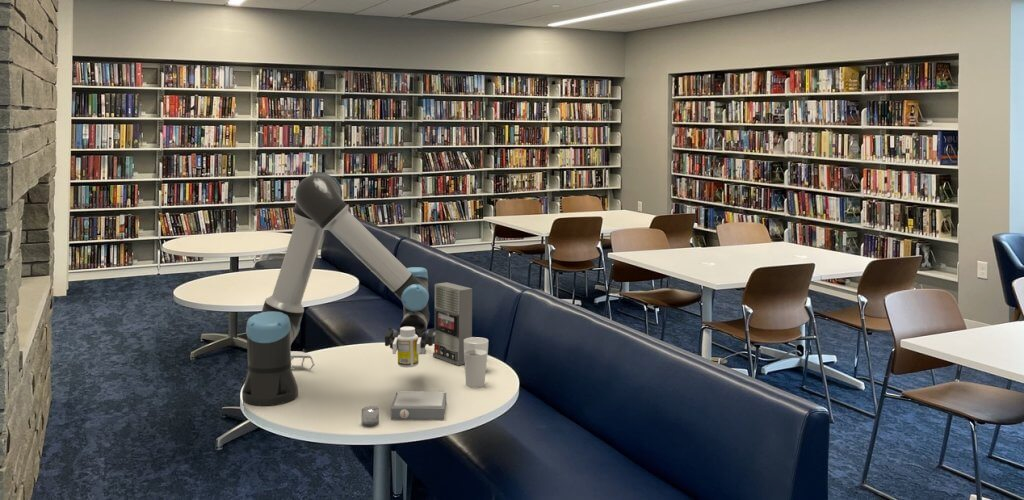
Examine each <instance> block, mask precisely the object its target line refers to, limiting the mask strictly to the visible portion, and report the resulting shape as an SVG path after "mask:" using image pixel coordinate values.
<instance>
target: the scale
mask: <svg viewBox="0 0 1024 500" xmlns="http://www.w3.org/2000/svg"><path fill="white" fill-rule="evenodd" d="M446 408H447V392H444V391H442V390H441V391H435V390H434V391H433V390H431V391H430V390H429V391H423V390H422V391H419V390H418V391H417V390H416V391H414V390H411V391H410V390H401V391H400V390H399V391H398V392H395V396H394V399H393V401H392V404H391V408H390V420H395V421H396V420H398V421H399V420H400V421H401V420H402V421H403V420H409V421H410V420H414V421H415V420H418V421H419V420H421V421H422V420H423V421H424V420H430V421H432V420H435V421H437V420H439V421H440V420H441V421H442V420H445V418H446Z"/></svg>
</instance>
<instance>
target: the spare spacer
mask: <svg viewBox="0 0 1024 500" xmlns="http://www.w3.org/2000/svg"><path fill="white" fill-rule="evenodd" d="M361 425H362V426H363V427H366V428H373V427H377V426H378V425H380V408H379V407H378V406H374V405H372V406H370V405H368V406H365V407H362V408H361Z"/></svg>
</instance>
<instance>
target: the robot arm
mask: <svg viewBox="0 0 1024 500" xmlns="http://www.w3.org/2000/svg"><path fill="white" fill-rule="evenodd" d="M295 201H296V202H295V204H294V208H293V211H292V213H293V215H294V217H295V222H294V226H293V228H292V232H291V234H290V237H289V238H290V239H289V241H288V244H287V247H286V248H287V249H286V252H285V255H284V258H283V261H282V264H281V266H280V270H279V273H278V277H277V280H276V281H275V282H276V283H275V285H274V289H273V291H272V292H273V293H272V295H270V296H269V297H266V298H265V300H264V302H263V306H262V309H261V312H258V313H255V314H253V315H252V316H250V317H249V318H248V319H247V321H246V328H245V334H246V348H247V349H246V351H247V374H246V378H245V381H244V384H243V388H242V389H241V390H242V391H241V392H242V394H241V397H242V401H243V402H244V403H246V404H249V405H253V406H274V405H275V406H276V405H280V404H286V403H288V402H292V401H293V400H295V399H297V398H298V395H299V388H298V387H299V386H298V384H297V382H296V378H295V375H294V374H293V369H292V368H291V366H292V365H291V364H292V361H291V351H292V350H291V349H292V347H291V346H292V343H293V342H294V341H295V339H296V337H298V334H299V332H300V329H301V323H302V318H303V315H304V312H305V308H304V306H303V305H302V301H303V298H304V295H305V292H306V289H307V286H308V283H309V280H310V276H311V273H312V270H313V267H314V264H315V260H316V257H317V255H318V252H319V247H320V245H321V242H322V239H323V236H324V232H325V231H329V232H330V233H331V234H332V235H333V236H334V237H335V238H336V239H338V241H340V242H341V243H342V244H343V246H345V248H347V249H348V250H349V251H350V252H351V253H352V254H353V255H354V256H355V257H356V258H357V259H358V260H359V261H360V262H361V263H362V264H364V266H366V268H367V269H369V271H370V272H371V273H373V274H374V275H375V276H376V277H377V278H378V279H379V280H380V281H381V282H382V283H383V284H384V285H385V286H387V288H388V289H389V290H390V291H391V292H392V293H393V294H394V295H395V296H396V297H397V298H398V299H399V300H400V301H401V303H402V306H403V318H402V320H401V322H400V325H399V327H398V328H397V329H396V330H395V328H391V327H389V328H387V333H386V334H385V335H384V346H385V347H389V348H390V349H391V350H392V355H396V354H397V353H398V346H397V337H398V335H400V328H402V327H414V328H415V334H416V335H417V336H418V341H417V354H418V355H420V354H421V353H420V350H421V348H425V349H426V346H430V347H433V346H434V345H433V344H434V343H433V342H434V339H435V327H432V328H430V329H427V327H428V325H429V322H430V311H429V299H430V294H429V276H428V270H427V268H425V267H419V266H417V267H415V266H412V267H406V266H405V265H404V264H402V262H401V261H400V260H398V258H397V257H395V256H394V255H393V253H392V252H391V251H390V250H389V249H388V248H386V246H384V244H382V243H381V241H379V240H378V239H377V237H375V236H374V235H373V234H372V233H371V231H369V230H368V229H367V228H366V227H365V226H364V225H363V224H362V223H361V222H360V221H359V220H358V219H357V218H356V217H355V216H354V215H353V214H352V213H351V212H350V211H349V205H348V204H347V202H345V201H344V200H343V189H342V186H341V184H340V182H339V181H338V180H337V179H336V178H335V177H333V175H330V174H328V173H325V172H316V173H312V174H310V175H309V176H307V177H305V178H303V179H302V180H301V181H300V182H299V183H298V184H297V187H296V190H295ZM291 369H292V370H291Z"/></svg>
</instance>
